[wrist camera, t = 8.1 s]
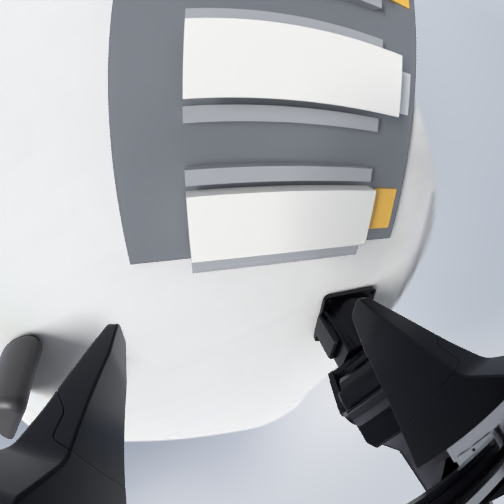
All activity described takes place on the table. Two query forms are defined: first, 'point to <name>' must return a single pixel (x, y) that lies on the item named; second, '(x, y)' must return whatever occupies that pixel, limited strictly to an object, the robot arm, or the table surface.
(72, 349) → the table surface
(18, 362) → the leaning round-cornered charcoal block
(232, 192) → the key
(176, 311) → the table surface
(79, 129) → the table surface
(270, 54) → the key middle
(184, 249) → the switch panel
